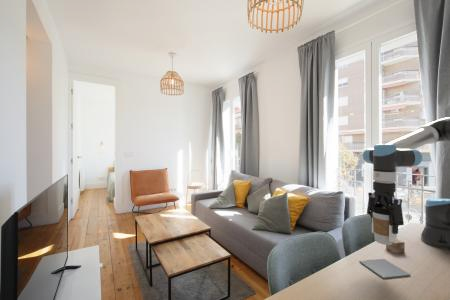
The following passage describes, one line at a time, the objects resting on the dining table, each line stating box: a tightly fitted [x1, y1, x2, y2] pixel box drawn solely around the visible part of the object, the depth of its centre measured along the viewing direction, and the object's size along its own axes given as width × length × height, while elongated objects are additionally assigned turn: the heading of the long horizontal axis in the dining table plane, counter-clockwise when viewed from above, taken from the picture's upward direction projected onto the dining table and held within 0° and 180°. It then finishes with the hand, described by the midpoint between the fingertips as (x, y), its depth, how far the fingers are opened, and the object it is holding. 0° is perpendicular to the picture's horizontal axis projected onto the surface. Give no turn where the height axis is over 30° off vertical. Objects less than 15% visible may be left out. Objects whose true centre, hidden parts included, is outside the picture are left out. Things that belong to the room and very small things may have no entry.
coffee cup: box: [371, 204, 395, 246], centre depth 90 cm, size 8×8×15 cm
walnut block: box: [385, 238, 406, 254], centre depth 106 cm, size 5×5×5 cm
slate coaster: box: [359, 258, 411, 280], centre depth 90 cm, size 12×12×1 cm
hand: (383, 236), depth 90 cm, fingers closed on coffee cup, 8 cm apart
